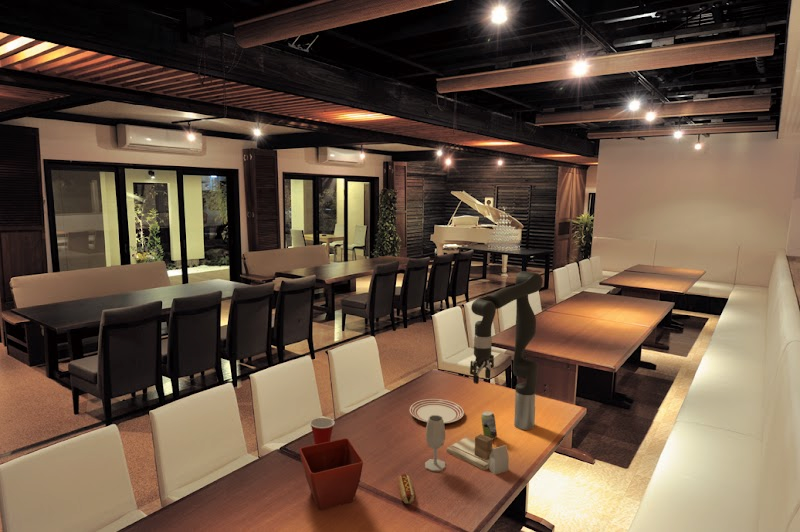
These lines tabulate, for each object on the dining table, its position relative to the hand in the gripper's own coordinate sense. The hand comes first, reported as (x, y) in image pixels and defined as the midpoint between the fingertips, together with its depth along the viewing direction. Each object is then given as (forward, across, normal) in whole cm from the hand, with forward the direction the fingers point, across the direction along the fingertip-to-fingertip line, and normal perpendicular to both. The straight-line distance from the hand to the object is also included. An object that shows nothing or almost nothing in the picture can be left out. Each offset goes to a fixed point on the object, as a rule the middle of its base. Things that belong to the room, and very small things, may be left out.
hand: (481, 380), depth 215 cm
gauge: (+28, +10, +9) cm, 31 cm away
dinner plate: (+30, -8, -33) cm, 46 cm away
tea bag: (+30, +12, +18) cm, 37 cm away
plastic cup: (+30, +52, -47) cm, 76 cm away
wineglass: (+30, +28, -2) cm, 41 cm away
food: (+30, +50, +3) cm, 59 cm away
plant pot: (+30, +71, -15) cm, 79 cm away
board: (+30, +9, +4) cm, 31 cm away
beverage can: (+30, -8, -1) cm, 31 cm away
